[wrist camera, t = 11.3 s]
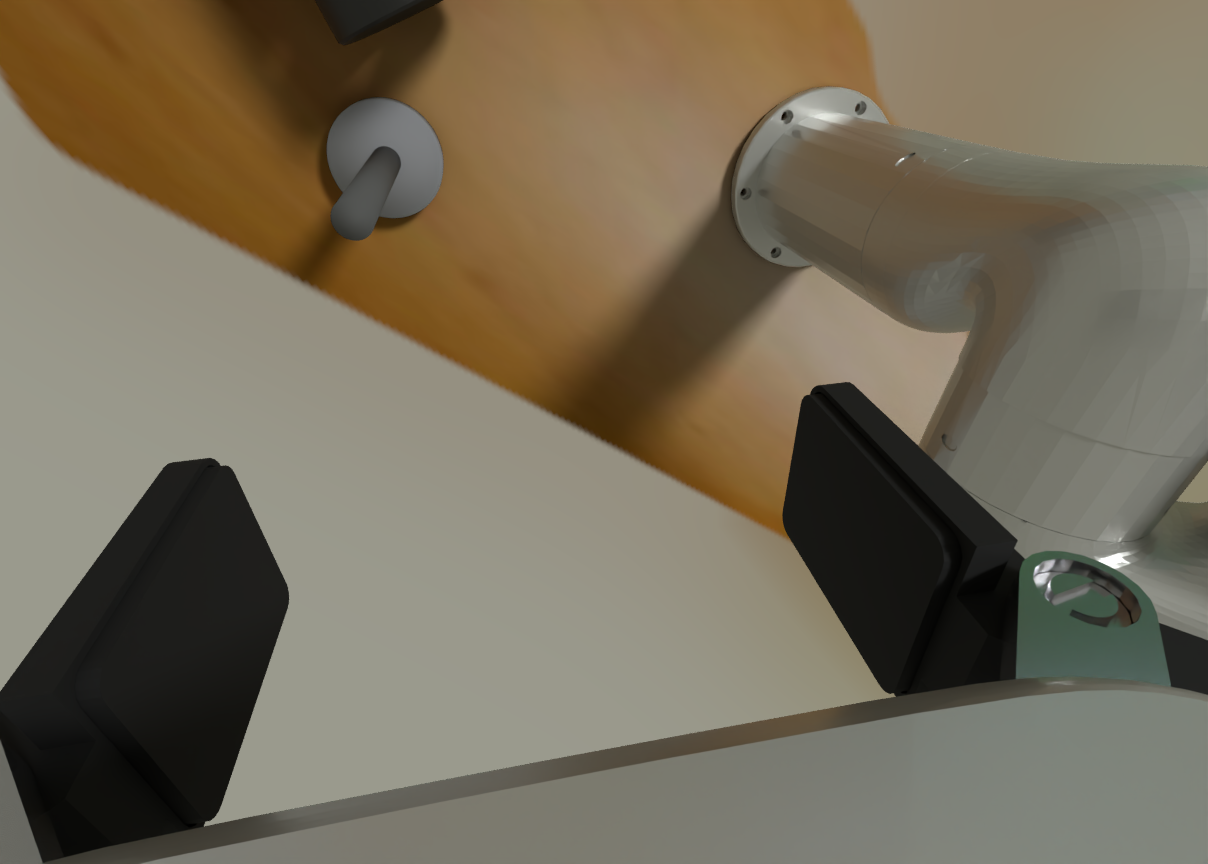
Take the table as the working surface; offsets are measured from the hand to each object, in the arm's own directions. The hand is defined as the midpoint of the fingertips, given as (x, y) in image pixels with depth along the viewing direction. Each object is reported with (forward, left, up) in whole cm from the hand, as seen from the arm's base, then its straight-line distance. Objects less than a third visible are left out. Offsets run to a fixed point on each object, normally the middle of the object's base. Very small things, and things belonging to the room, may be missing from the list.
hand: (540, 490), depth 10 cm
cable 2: (+6, 0, -37) cm, 38 cm away
